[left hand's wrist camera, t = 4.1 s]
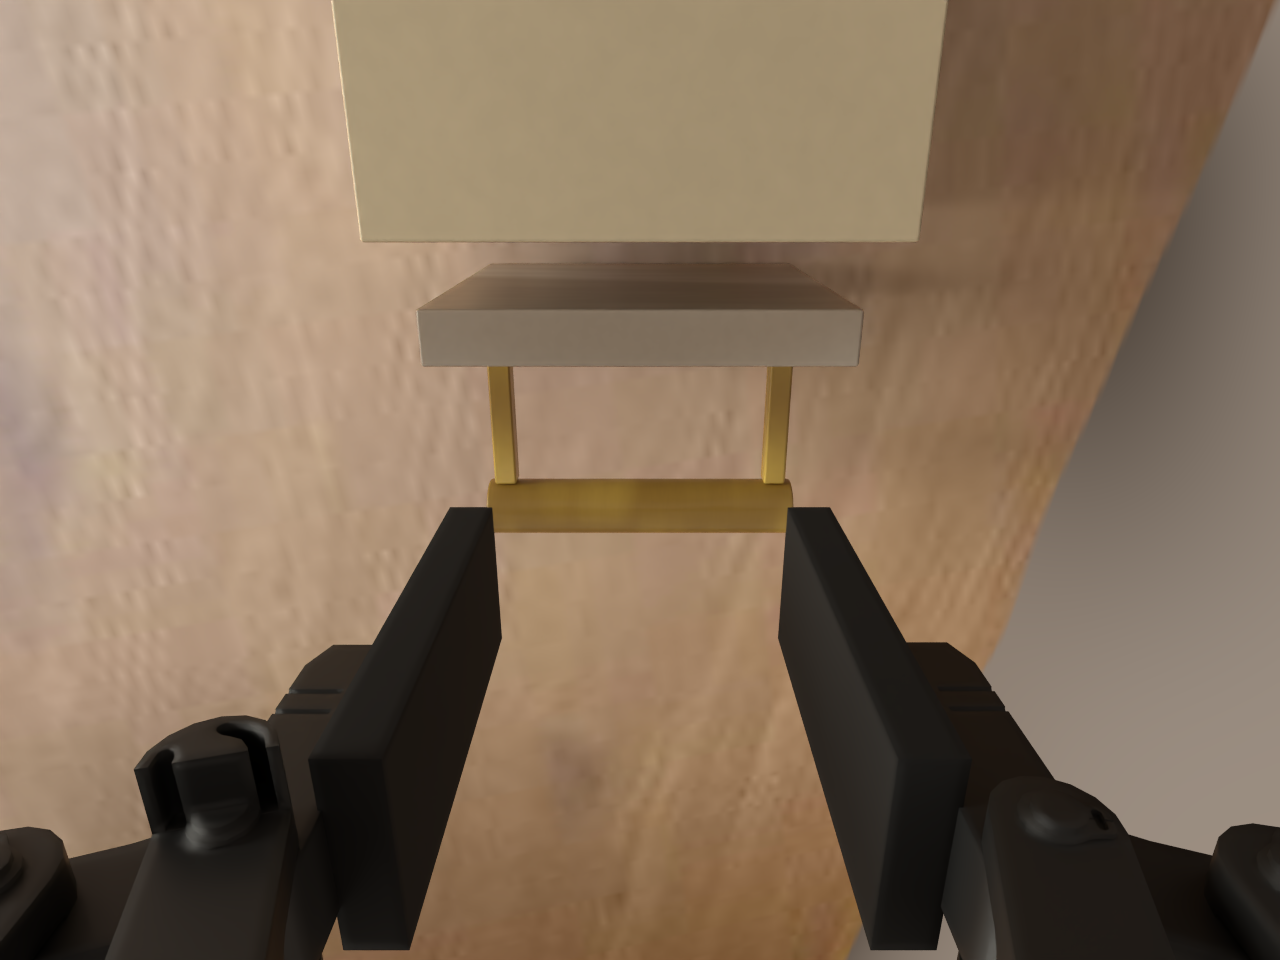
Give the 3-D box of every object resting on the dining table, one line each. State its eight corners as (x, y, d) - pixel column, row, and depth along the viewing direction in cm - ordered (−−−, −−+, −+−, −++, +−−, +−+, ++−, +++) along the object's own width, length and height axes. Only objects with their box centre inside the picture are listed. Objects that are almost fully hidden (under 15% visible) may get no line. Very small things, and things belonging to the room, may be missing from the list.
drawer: (775, 478, 27) (834, 611, 19) (504, 478, 27) (445, 611, 19) (832, -370, 19) (974, -771, 11) (447, -371, 19) (305, -771, 11)
